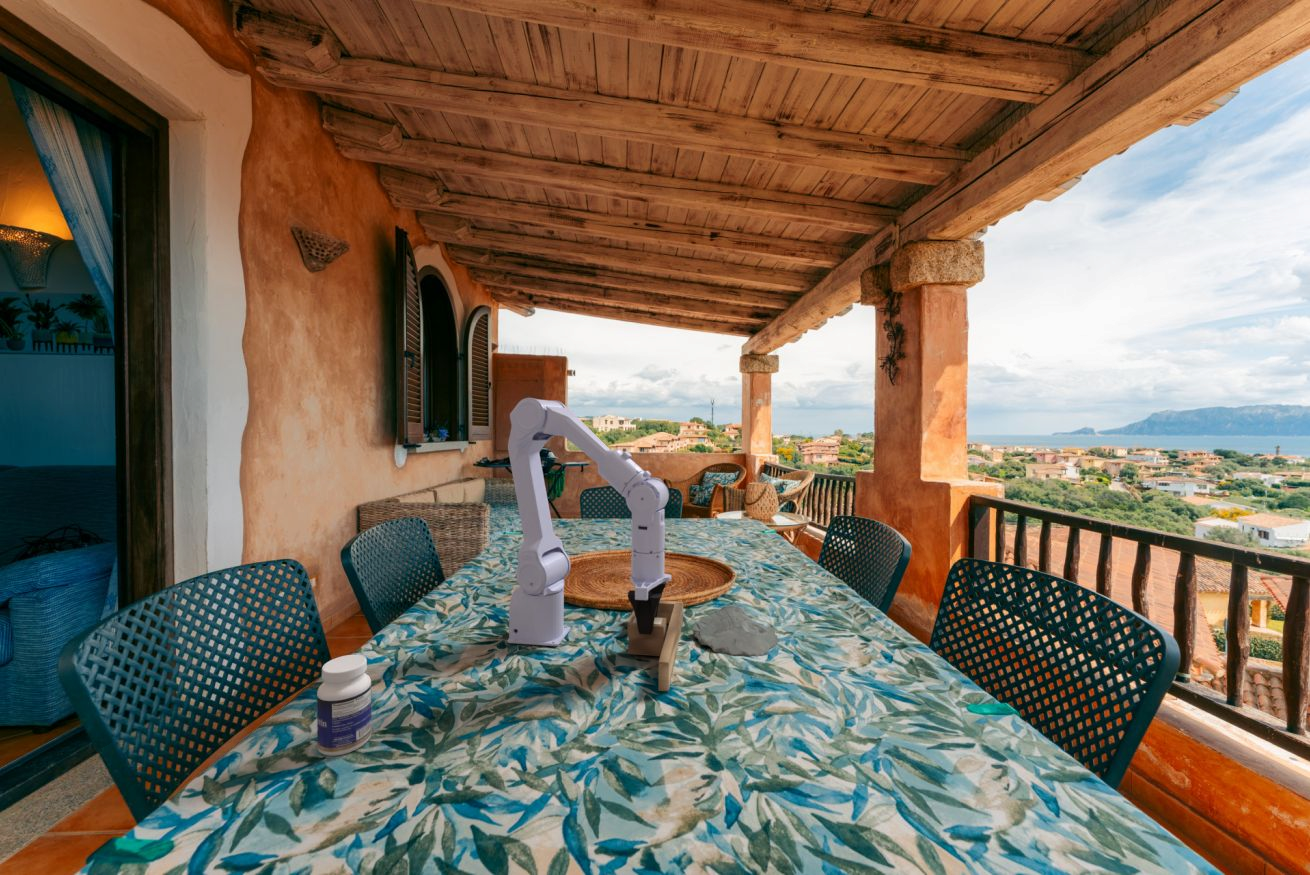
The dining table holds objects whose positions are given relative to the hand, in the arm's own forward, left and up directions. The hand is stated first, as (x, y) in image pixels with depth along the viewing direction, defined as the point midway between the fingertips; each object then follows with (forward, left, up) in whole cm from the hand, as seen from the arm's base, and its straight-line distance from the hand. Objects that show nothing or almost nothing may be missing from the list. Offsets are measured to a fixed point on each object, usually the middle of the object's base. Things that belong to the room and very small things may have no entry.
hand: (647, 628), depth 88 cm
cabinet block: (0, 0, -4) cm, 4 cm away
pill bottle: (-33, -30, -5) cm, 45 cm away
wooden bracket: (0, +2, -4) cm, 5 cm away
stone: (+15, +9, -5) cm, 18 cm away
